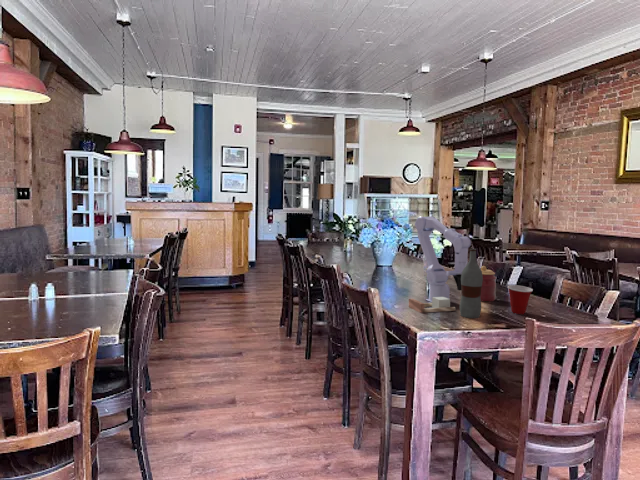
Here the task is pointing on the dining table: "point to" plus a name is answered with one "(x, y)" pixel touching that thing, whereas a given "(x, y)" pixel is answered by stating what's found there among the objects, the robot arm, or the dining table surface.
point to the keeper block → (440, 302)
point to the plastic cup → (519, 298)
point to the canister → (488, 285)
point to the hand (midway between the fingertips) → (459, 290)
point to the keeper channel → (420, 306)
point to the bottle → (471, 288)
